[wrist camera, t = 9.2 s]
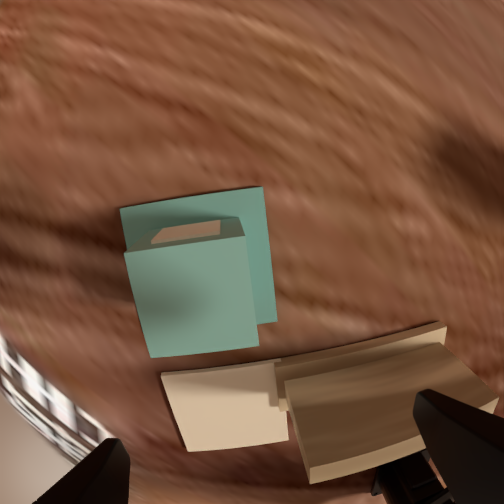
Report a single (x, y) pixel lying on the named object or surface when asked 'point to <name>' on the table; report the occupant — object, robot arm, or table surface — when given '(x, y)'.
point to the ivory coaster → (226, 406)
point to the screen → (370, 398)
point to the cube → (193, 288)
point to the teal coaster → (210, 209)
